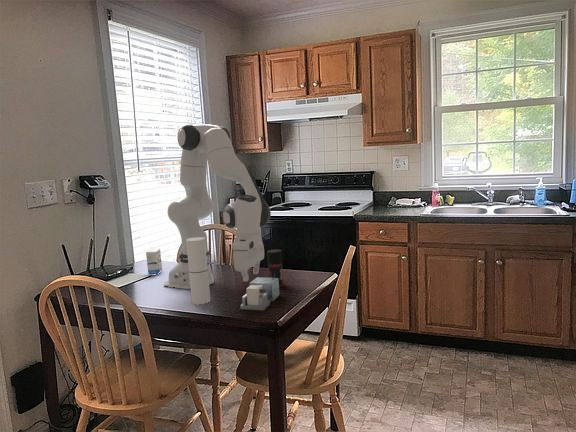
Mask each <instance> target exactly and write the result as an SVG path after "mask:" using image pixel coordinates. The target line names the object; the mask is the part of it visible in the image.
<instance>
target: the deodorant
mask: <svg viewBox="0 0 576 432" xmlns="http://www.w3.org/2000/svg"><path fill="white" fill-rule="evenodd" d="M266 254H267V255H266V256H267V269H268V278H278V281H279V288H282V287H284V273H283V259H282V249H279V248H278V249H277V248H276V249H269V250H267V251H266Z"/></svg>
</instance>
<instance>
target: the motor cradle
mask: <svg viewBox="0 0 576 432" xmlns="http://www.w3.org/2000/svg"><path fill="white" fill-rule="evenodd" d="M250 285H262V289H266V293H263V295H261V296H260V297H259V305H249V304H248V303H247V293H245V294H244V295H243V296H241V302H242V303H241V304H240V310H246V311H247V310H248V311H265V310H266V309H267V308H268V307H269V306H270V305H271V302H274V301H275V300H276V299H277V298H278V297H279V296H280V287H279V281H278V278H269V277H259V276H257V277H255V278H254V279H252V281H250V282H249V286H250Z"/></svg>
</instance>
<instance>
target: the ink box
mask: <svg viewBox="0 0 576 432" xmlns="http://www.w3.org/2000/svg"><path fill="white" fill-rule="evenodd" d="M145 256H146V257H145V258H146V265H147V271H148V272H147V273H148V275H149V274H158V273H159V272H160V271H161V270H162V271H163V264H162V255H161V248H150V249H148V250H147V251H146V252H145ZM159 274H160V273H159ZM159 274H158V275H159Z"/></svg>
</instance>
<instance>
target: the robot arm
mask: <svg viewBox="0 0 576 432" xmlns="http://www.w3.org/2000/svg"><path fill="white" fill-rule="evenodd" d="M177 143H178V145H179V147H180V148H181V149H182V151H181V157H180V172H179V173H180V174H179V181H180V184H181V186H183V188H184V189H185V194H186V195H185V197H183V198H178V199H176V200H174V201H173V202H171V203H170V204H169V205H168V207H167V216H168V218H169V220H170V221H171V222H172V223H173V224H175V226H176V228H177V230H178V232H179V235H180V239H181V246H182V253H181V254H179V255H178V256H177V257H178V258H177V259H179V262H178V263H177V264H175V265H174V267H172V269H171V270H170V271H169V273H168V279H167V280H166V281H165V282H164V283H163V287H164V286H168V287H167V288H173V287H175V288H174V289H182V290H191V287H190V277H189V266H188V256H187V245H186V239H189V238H195V237H204V238H205V245H206V256H207V267H208V279H209V286H210V285H212V284H214V283H215V279H214V275H213V272H212V268H211V256H210V251H209V246H208V235H207V233H206V231H204V230H203V229H202V226H201V225H200V221H201V220H203V219H206V218H208V217H209V216H210V215H212V213H213V212H214V211H215V203H214V201H213V199H212V198H211V197H210V195H209V191H208V187H207V168H208V167H209V169H210V170H211V172H212V173H213V174H214V175H216V176H217V177H220V178H223V179H227V180H230V181H234V182H236V183H238V184H240V185H241V186H242V188H243V191H244V192H245V194H242V195H239V196H237V197H236V198H235V201H233V202H231V203H228V204H226V205H225V206H224V207H223V209H222V214H221V216H222V223H223V224H224V225H225V226H226V228H229V229H231V230H232V229H233V230H235V229H236V236H235V238H234V241H232V244H231V250H233V253H232V257H233V258H232V260H233V267H234V270H235V271H236V272H240V274H241V276H242V281H243V282H248V281H249V280H250V275H248V272H249V270H250V269H251V268H252V267H253V269H252V274H253V275H257V274H259V273H260V272H259V271H260V264H261V261H263V260H264V259H265V247H264V243H263V240H262V229H261V227H265V226H266V225H267V224H268V223H269V222H270V220H271V216H272V213H271V208H270V206H269V205H268V203H267V201H266V200H265V199H264V197H263V195H262V193H261V191H260V189H259V186H258V185H257V182H256V181H255V178H254V176H253V175H252V173H251V171H250V169H249V167H248V166H247V165H246V164H244V163H243V162H242V161H241V160H240V159H239V158H238V157H237V154H236V153H235V150H234V149H235V148H234V146H233V144H232V142H231V135H230V132H229V129H228V128H227V127H224V126H223V125H213V124H207V123H205V124H191V123H188V124H184V125H182V126H180V128H179V129H178V132H177ZM207 165H208V167H207Z"/></svg>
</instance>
